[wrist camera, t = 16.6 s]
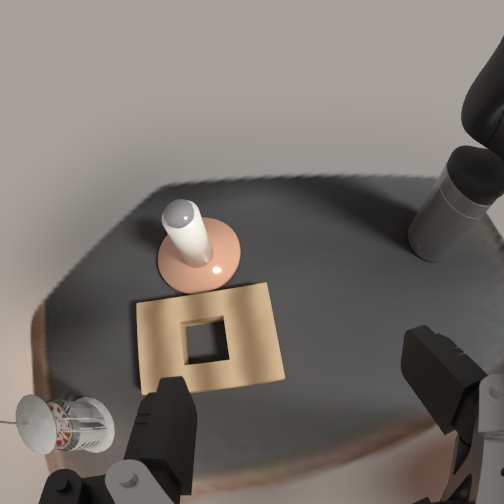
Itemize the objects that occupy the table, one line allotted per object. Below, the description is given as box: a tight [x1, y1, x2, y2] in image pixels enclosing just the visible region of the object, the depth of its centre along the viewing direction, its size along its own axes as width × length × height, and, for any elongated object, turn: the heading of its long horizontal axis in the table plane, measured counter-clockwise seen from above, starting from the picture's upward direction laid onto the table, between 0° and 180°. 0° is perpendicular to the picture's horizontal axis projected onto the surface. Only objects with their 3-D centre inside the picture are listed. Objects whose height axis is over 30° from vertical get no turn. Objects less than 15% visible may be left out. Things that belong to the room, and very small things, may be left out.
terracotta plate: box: [158, 218, 241, 295], centre depth 49 cm, size 14×14×1 cm
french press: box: [0, 395, 115, 455], centre depth 25 cm, size 10×12×25 cm
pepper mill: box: [162, 199, 214, 268], centre depth 43 cm, size 5×5×12 cm
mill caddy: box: [137, 282, 285, 395], centre depth 41 cm, size 20×14×3 cm
